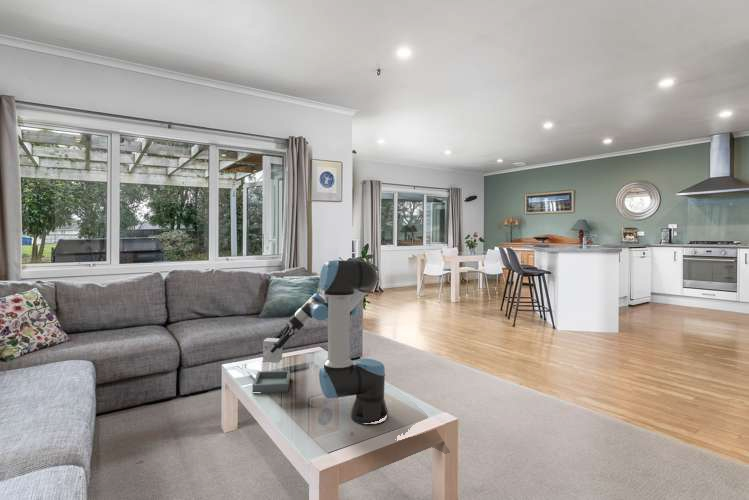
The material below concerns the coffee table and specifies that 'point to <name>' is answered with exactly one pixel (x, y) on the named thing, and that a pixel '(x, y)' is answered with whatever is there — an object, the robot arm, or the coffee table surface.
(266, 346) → the small box
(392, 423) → the coffee table surface
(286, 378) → the tray
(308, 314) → the robot arm
